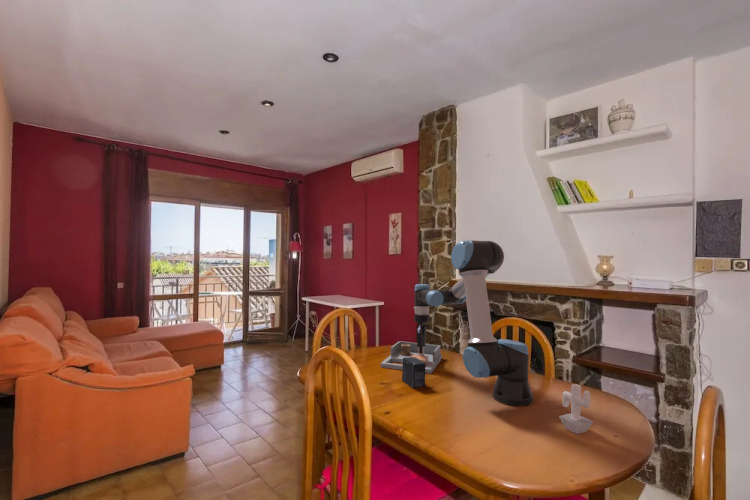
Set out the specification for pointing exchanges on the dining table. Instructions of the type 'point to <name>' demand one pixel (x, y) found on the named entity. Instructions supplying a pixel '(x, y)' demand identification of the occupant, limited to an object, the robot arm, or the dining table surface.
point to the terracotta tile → (421, 358)
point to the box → (413, 372)
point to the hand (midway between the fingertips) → (421, 359)
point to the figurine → (576, 410)
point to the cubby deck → (396, 356)
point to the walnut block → (405, 349)
